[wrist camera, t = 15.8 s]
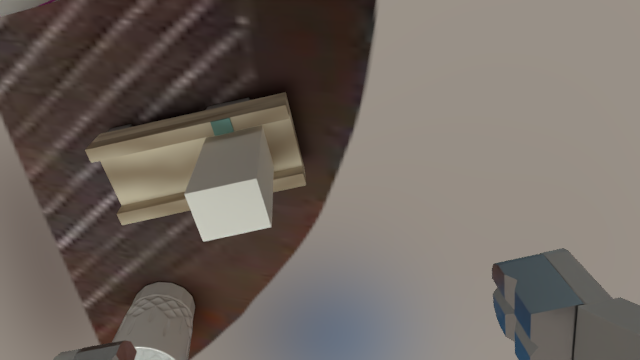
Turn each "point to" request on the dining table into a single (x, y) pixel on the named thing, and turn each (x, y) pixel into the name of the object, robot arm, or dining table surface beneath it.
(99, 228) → the dining table surface
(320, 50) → the dining table surface
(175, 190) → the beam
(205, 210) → the rider
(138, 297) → the white cup
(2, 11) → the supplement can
